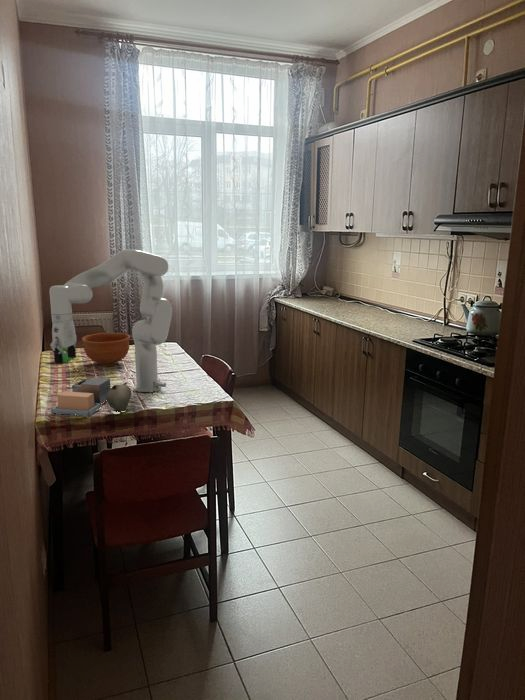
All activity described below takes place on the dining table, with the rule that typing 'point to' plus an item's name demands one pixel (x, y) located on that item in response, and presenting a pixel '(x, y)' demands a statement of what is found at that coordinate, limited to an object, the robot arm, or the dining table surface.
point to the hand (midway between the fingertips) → (65, 360)
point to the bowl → (106, 347)
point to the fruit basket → (65, 355)
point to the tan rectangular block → (75, 401)
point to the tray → (73, 412)
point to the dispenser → (94, 388)
